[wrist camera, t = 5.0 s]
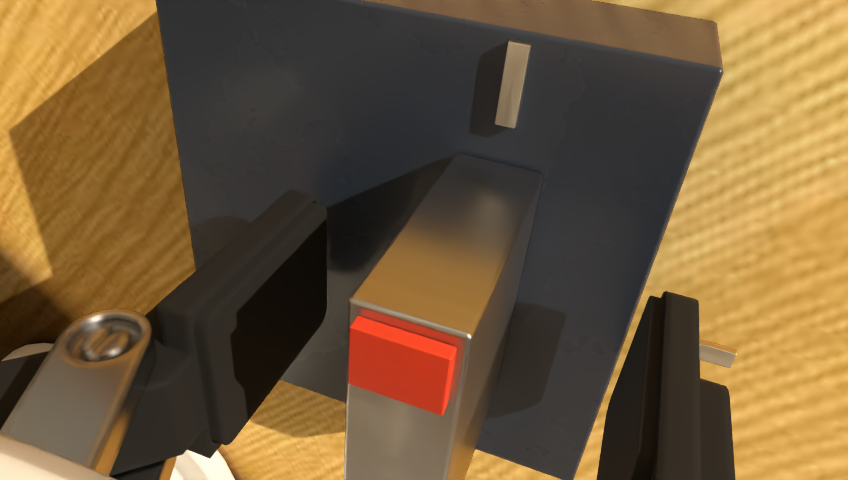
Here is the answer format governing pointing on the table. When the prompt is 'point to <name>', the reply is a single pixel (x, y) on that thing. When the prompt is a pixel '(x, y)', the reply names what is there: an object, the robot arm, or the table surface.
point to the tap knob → (436, 325)
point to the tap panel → (436, 147)
